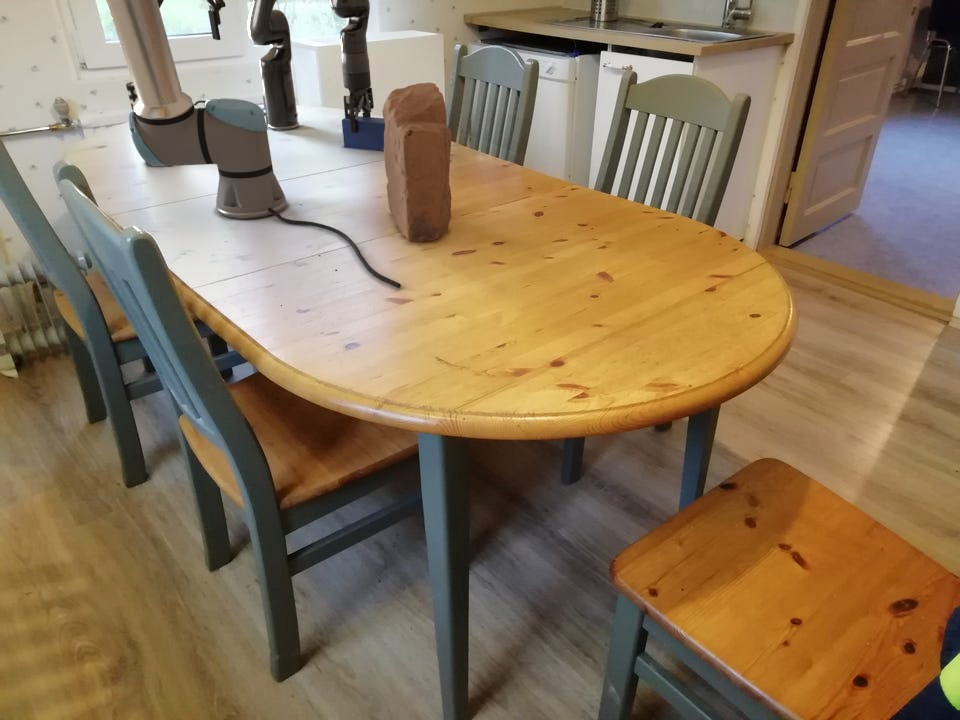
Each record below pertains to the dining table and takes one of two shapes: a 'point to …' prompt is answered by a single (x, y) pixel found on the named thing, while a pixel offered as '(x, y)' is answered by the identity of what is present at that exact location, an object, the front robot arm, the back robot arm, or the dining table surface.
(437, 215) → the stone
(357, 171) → the dining table surface
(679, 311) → the dining table surface
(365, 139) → the bar
